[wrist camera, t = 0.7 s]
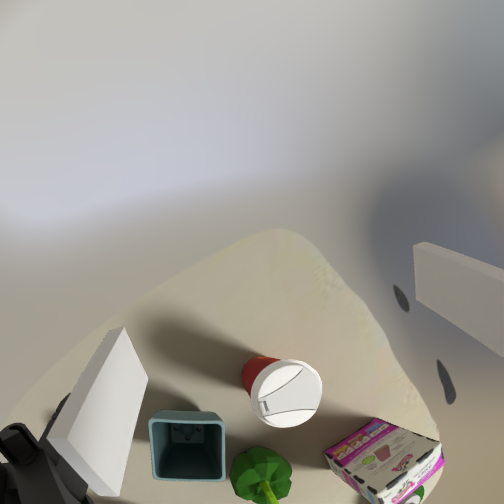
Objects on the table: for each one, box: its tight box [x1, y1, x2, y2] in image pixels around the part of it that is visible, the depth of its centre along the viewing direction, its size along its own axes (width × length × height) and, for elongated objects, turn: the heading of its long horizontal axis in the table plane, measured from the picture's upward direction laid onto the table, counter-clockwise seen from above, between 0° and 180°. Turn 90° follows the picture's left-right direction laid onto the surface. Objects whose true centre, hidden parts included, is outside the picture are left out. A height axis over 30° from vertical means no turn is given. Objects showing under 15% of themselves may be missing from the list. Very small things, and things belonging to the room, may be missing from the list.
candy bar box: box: [323, 418, 445, 504], centre depth 33 cm, size 11×5×16 cm, turn 115°
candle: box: [398, 485, 424, 504], centre depth 35 cm, size 8×8×10 cm
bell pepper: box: [230, 447, 292, 504], centre depth 33 cm, size 8×8×10 cm
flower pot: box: [148, 410, 226, 482], centre depth 33 cm, size 9×9×9 cm
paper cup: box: [242, 357, 322, 428], centre depth 35 cm, size 8×8×14 cm
